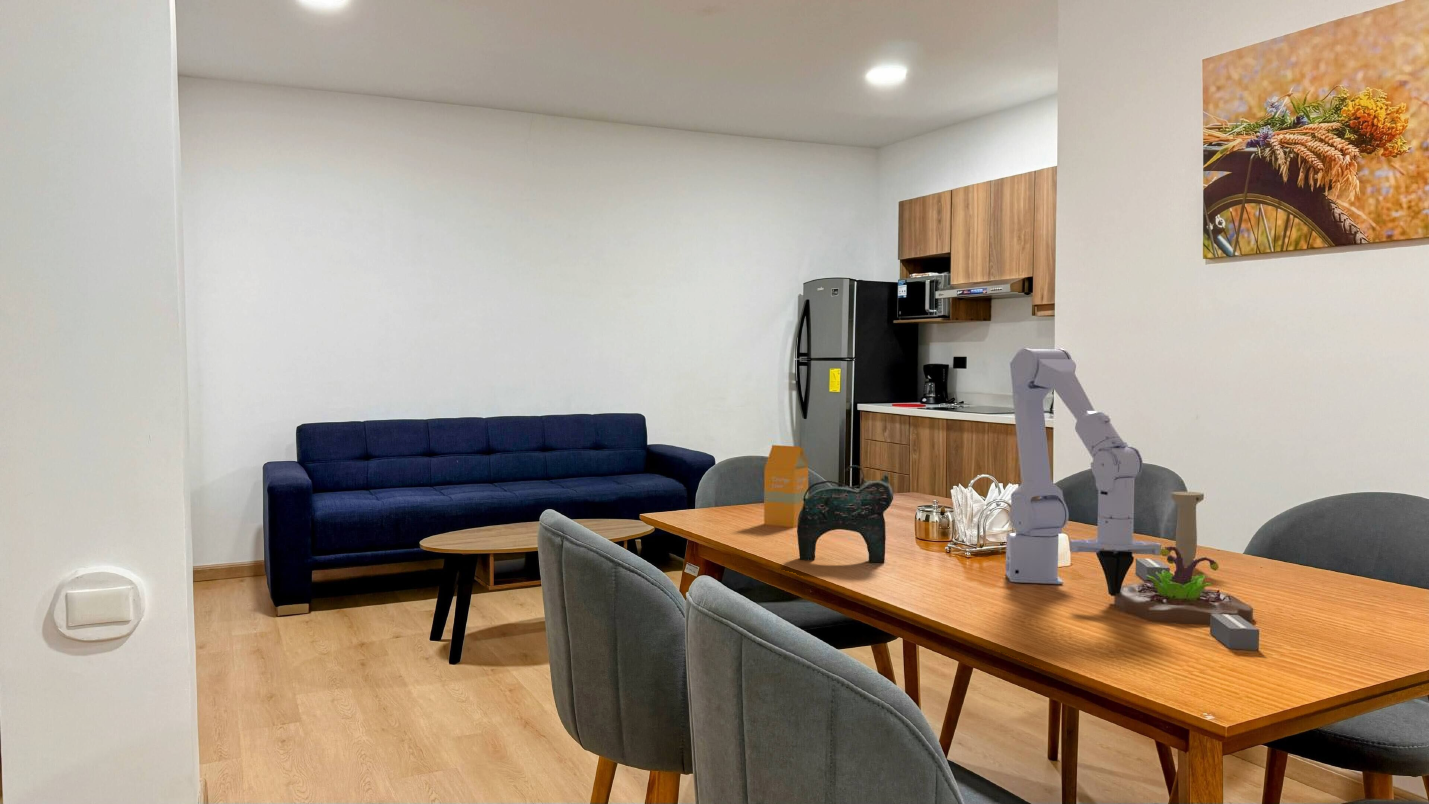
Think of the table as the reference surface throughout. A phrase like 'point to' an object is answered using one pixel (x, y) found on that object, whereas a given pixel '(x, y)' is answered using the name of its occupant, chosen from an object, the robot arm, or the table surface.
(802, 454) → the orange juice
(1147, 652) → the table surface
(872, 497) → the ceramic cat
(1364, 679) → the table surface
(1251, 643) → the grey blocks
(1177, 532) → the handle
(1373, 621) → the table surface
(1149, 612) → the plant
